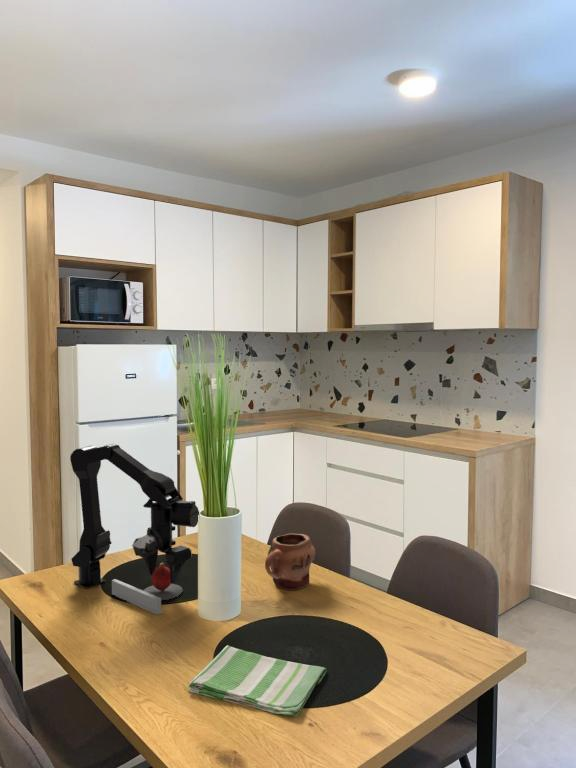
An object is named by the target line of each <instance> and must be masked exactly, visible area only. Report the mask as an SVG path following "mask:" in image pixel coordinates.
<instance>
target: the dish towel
mask: <svg viewBox="0 0 576 768" xmlns="http://www.w3.org/2000/svg"><path fill="white" fill-rule="evenodd" d="M326 673H327V667H323V666H319V665H310V664H304V663H299V662H293V661H288V660H283V659H280V658H274V657H268V656H265V655H262V654H260V653H259V654H258V653H255V652H251V651H246V650H244V649H240V648H236V647H234V646H230V645H228V644H227V645H226V646H225V647H223V649H222V650H221V651H220V652H219V653H218V654H217V655H216V656H215V657H214V658H213V659H212V660H211V661H210V662H209V663H208V664H207V665H206V666H205V667H204V668H203V669H202V670H201V671H200V672H199V673H198V674H196V675H195V677H194V678H193V679H192V680H191V681H190V682H189V683H188V688H189V690H188V692H187V693H188V694H189V693H191V694H196V695H199V696H203V697H207V698H212V699H216V700H220V701H221V700H222V701H226V702H230V703H233V704H237V705H240V706H243V707H247V708H253V709H258V710H260V711H264V712H269V713H271V714H277V715H284V716H292V717H298V715H299V713H300V712H301V710H303V708H304V706H305V704H306V703H307V701H308V699H309V697H310V696H311V694H312V692H313V691H314V689H315V687H316V686H317V685H319V684H320V683H321V681H322V680H323V679H324V677H325V675H326Z"/></svg>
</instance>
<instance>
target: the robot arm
mask: <svg viewBox="0 0 576 768" xmlns="http://www.w3.org/2000/svg"><path fill="white" fill-rule="evenodd" d="M69 459H70V464H71V465H70V466H71V469H72V471H73V473H74V474H75V475H76V477H77V478H78V481H79V482H78V483H79V484H78V485H79V492H80V493H79V494H80V502H81V504H80V505H81V513H82V523H83V530H82V533H81V535H80V538H79V547H78V548H79V550H78V551H77V552H76V553H75V555H73V556H72V558H71V563H72V566H73V567H77V568H78V580H74V581H73V583H74V584H75V585H77V586H79V587H81V588H84V589H88V588H92V587H95V586H98V585H100V584H103V583H104V584H105V583H106V580H105V579H103V578H101V577H102V576H101V575H102V574H101V562H100V560H103V559H104V558H105V557H106V554H107V553H108V551H109V550H110V547H111V544H112V543H113V542H112V541H111V540H112V539H111V532H110V530H109V529H108V530H106V529H105V528H104V527H103V525H102V518H101V517H102V516H101V506H100V505H101V503H100V496H99V487H98V486H99V485H98V475H99V473H100V469H101V466H102V461H105V460H107V461H108V462H109V463H111V464H112V465H114V466H115V467H116V468H118V469H119V470H120V471H122V472H123V473H124V474H126V475H127V476H129V477H130V478H131V479H132V480H134V482H136V483H137V484H138V485H139V486H140V488H141V490H142V492H143V493H144V494H145V496H146V497H147V498H148V500H147V501H146V502H145V503H144V504H143V508H146V509H150V527H147V529H146V534H145V535H144V536H143V535H142V536H141V537H137V538H135V539H134V541H133V543H132V545H131V546H132V549H133V552H134V554H135V556H136V557H137V556H138V557H141V558H142V559H144V561H145V565H146V568H147V570H148V573H149V576H152V574H153V572H154V570H155V569H156V568H157V560H158V555H159V552H161V553H163V554H165V560H166V561H165V564H167V565H168V568H169V569H170V579H171V584H176V580H177V578H178V577H179V575H180V572H181V570H182V568H183V566H184V565H185V563H186V562H187V561H189V560H190V559H192V554H193V553H192V550H191V548H190V547H187V546H184V545H178V546H175V545H176V544H177V543H176V540H174V539H173V531H176V526H179V527H187V528H189V527H190V528H195V527H196V526H197V525H198V523H199V521H198V515H199V516H200V511H199V508H198V506H197V504H196V501H194V500H189V501H187V500H184V499H183V496H182V495H181V494H180V492H179V490H178V489H177V487H176V486H175V482H174V480H173V479H172V478H171V477H169V476H167V475H166V474H163V473H161V472H157V471H153V470H151V469H150V468H148V467H147V466H145V465H144V464H143V463H141V461H139V460H137V459H136V458H134V457H133V456H132V455H131V454H129V453H128V452H126V451H125V450H124V449H122V448H121V447H120V445H119V444H117V443H110V444H107V445H104V446H99V447H96V446H95V445H89V446H83V447H80V448H76V449H74V450H73V451H72V453H70V458H69ZM169 497H170V498H169ZM173 546H175V547H173Z"/></svg>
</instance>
